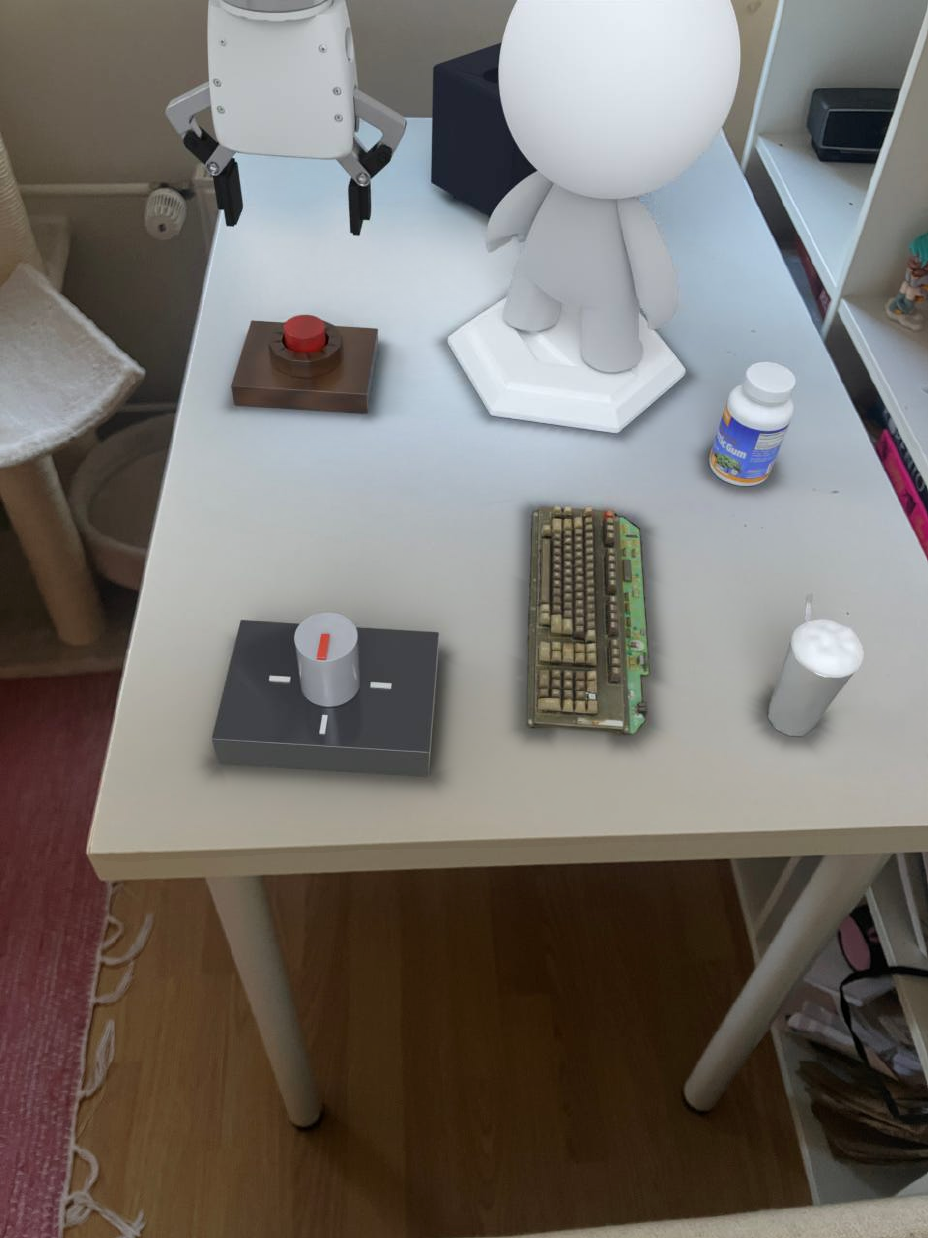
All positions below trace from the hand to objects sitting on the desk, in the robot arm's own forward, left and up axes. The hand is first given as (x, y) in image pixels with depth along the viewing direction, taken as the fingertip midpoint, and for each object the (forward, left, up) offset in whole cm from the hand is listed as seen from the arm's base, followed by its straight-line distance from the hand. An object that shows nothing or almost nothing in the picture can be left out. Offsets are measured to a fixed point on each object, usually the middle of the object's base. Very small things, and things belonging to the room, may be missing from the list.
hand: (296, 222), depth 79 cm
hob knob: (+6, -34, -14) cm, 37 cm away
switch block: (-1, +3, -17) cm, 17 cm away
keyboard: (+24, -24, -17) cm, 38 cm away
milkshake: (+38, -32, -17) cm, 53 cm away
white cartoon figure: (+23, +8, -17) cm, 30 cm away
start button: (-1, +3, -13) cm, 13 cm away
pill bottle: (+38, -6, -17) cm, 42 cm away
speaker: (+20, +41, -17) cm, 49 cm away
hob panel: (+6, -34, -17) cm, 39 cm away
